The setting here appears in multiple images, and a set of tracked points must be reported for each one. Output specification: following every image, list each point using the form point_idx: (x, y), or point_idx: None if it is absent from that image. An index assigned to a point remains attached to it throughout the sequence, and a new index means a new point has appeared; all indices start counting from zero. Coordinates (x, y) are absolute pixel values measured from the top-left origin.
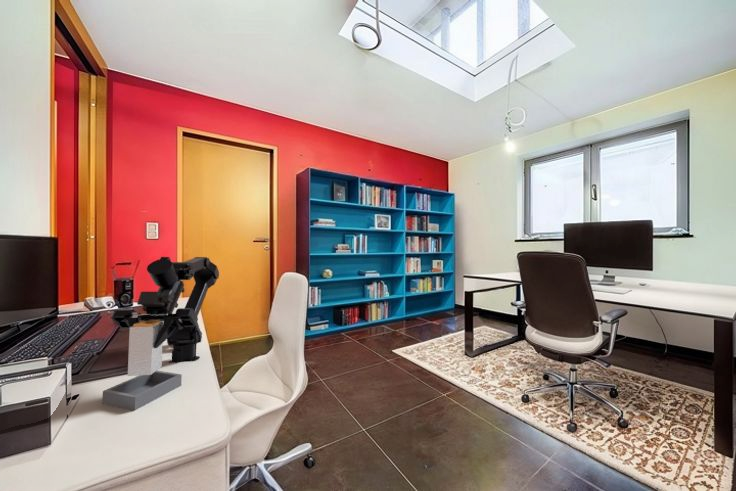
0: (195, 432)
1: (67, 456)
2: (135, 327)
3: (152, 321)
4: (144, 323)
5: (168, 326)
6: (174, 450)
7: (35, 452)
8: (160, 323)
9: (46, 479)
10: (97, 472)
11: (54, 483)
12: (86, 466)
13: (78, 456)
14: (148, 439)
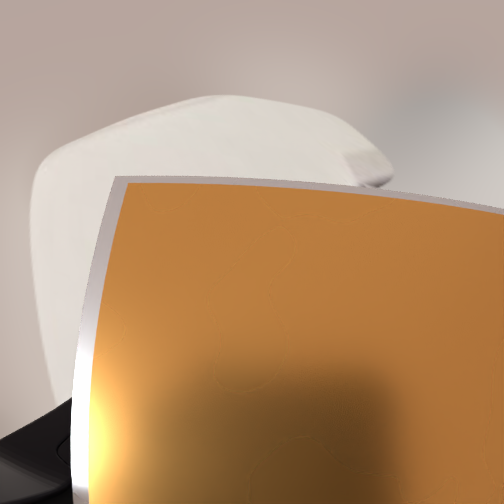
0: (76, 175)
1: (295, 148)
2: (435, 201)
3: (220, 486)
4: (347, 237)
5: (5, 441)
6: (107, 135)
7: (368, 173)
8: (83, 500)
9: (284, 108)
10: (213, 107)
11: (265, 100)
12: (240, 120)
13: (273, 144)
14: (158, 166)
